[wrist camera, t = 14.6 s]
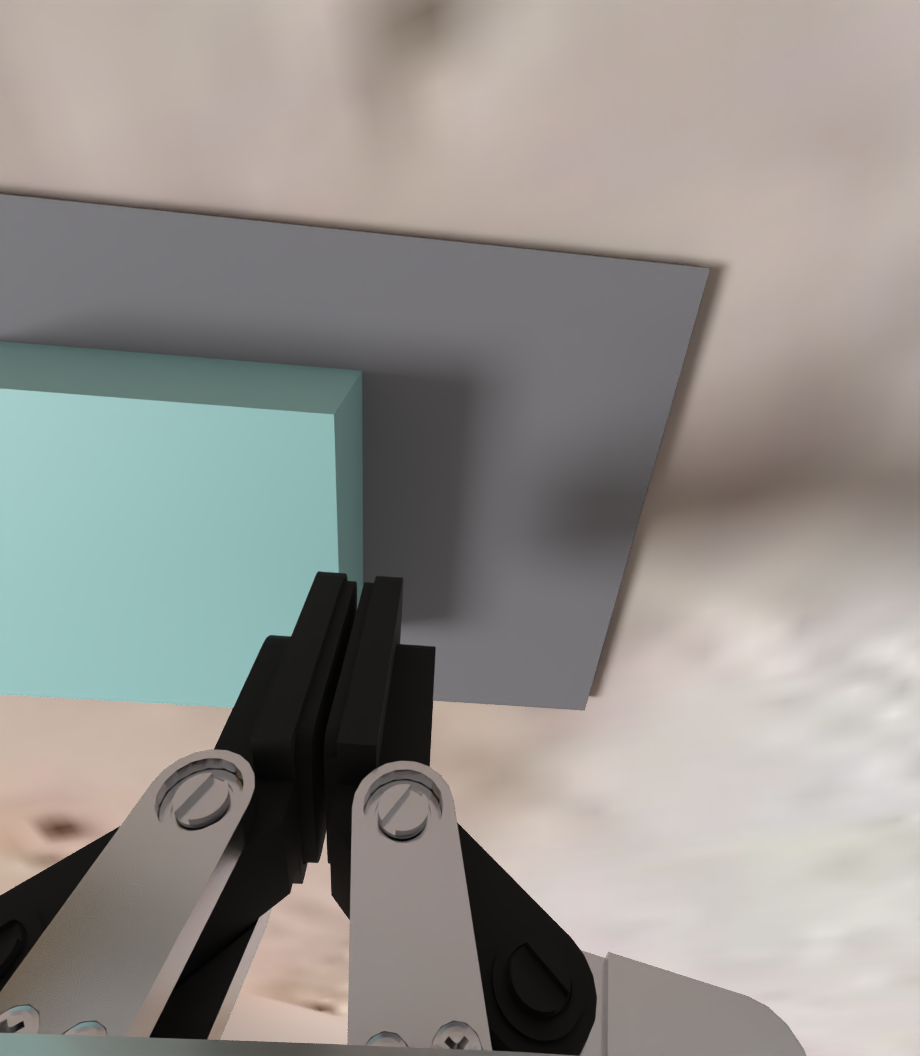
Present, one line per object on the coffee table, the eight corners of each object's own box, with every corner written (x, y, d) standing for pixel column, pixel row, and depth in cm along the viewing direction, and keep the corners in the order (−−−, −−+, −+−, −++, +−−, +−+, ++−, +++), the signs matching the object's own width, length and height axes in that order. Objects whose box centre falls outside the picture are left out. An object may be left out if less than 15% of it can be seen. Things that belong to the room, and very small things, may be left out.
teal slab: (362, 370, 14) (-24, 339, 13) (334, 414, 10) (-171, 375, 10) (363, 627, 17) (65, 608, 17) (342, 713, 14) (-22, 693, 14)
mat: (-101, 182, 12) (-126, 181, 12) (699, 266, 13) (710, 268, 12) (62, 662, 19) (51, 675, 18) (581, 697, 20) (584, 710, 19)
